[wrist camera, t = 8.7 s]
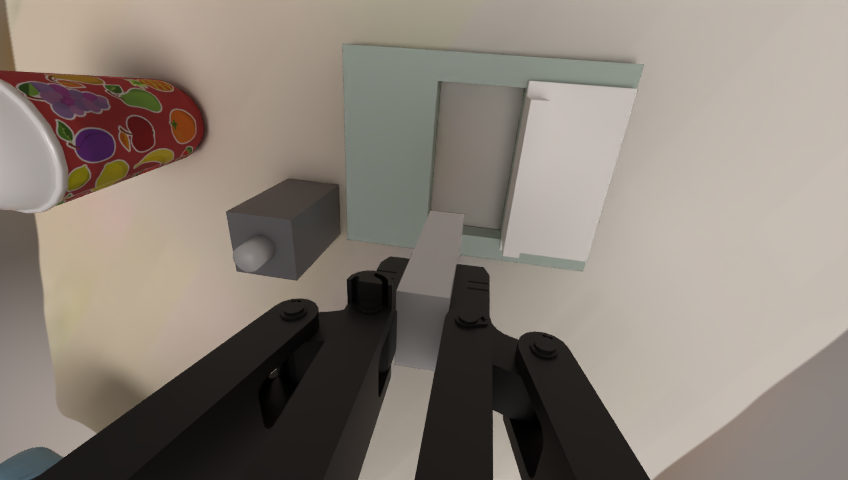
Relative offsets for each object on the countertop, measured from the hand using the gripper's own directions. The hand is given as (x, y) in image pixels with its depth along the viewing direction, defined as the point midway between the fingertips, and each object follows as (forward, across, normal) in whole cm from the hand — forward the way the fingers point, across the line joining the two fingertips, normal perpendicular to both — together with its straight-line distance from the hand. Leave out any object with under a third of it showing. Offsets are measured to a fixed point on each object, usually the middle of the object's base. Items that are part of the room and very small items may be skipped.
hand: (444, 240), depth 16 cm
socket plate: (+16, +1, 0) cm, 16 cm away
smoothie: (+16, -27, +2) cm, 32 cm away
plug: (+16, -14, -6) cm, 22 cm away
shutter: (+14, +7, 0) cm, 16 cm away
